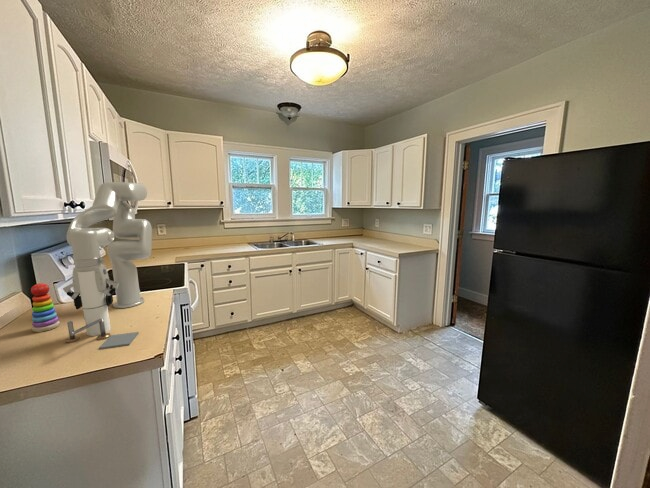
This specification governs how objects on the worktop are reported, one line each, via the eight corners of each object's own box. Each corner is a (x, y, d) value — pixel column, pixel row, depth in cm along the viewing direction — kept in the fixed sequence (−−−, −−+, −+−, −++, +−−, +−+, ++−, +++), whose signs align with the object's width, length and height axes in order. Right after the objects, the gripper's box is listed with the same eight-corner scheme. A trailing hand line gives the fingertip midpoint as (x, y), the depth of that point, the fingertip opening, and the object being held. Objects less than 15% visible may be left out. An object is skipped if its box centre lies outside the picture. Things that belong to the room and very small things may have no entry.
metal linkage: (69, 338, 101) (66, 318, 100) (113, 332, 105) (110, 314, 104) (44, 358, 88) (39, 336, 87) (95, 351, 92) (92, 330, 91)
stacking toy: (26, 334, 105) (17, 287, 101) (41, 325, 112) (33, 281, 109) (51, 331, 107) (43, 285, 103) (65, 322, 114) (57, 279, 111)
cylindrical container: (108, 325, 111) (99, 266, 107) (112, 330, 106) (103, 269, 102) (85, 331, 106) (75, 270, 102) (88, 337, 101) (78, 273, 97)
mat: (111, 336, 102) (110, 335, 102) (138, 333, 104) (138, 331, 104) (99, 349, 93) (98, 347, 93) (129, 345, 96) (129, 343, 96)
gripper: (119, 259, 107) (124, 300, 110) (66, 262, 103) (73, 305, 105) (110, 263, 100) (116, 307, 103) (52, 266, 95) (60, 312, 98)
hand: (94, 306), depth 104 cm, fingers open, 9 cm apart
